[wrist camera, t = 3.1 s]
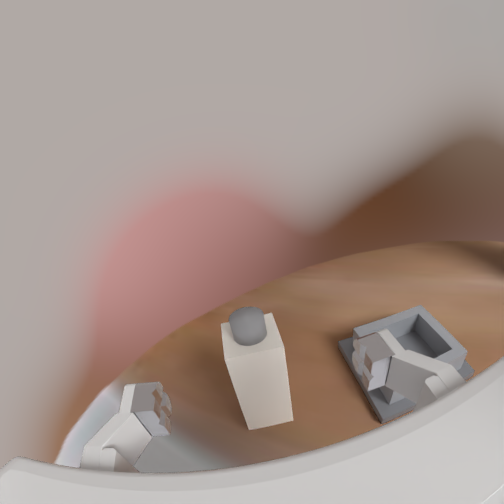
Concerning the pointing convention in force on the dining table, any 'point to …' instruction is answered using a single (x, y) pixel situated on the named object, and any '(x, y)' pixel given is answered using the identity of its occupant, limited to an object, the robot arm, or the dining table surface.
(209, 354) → the dining table surface
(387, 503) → the robot arm
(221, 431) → the dining table surface
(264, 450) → the dining table surface
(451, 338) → the socket dock
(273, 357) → the spigot peg
